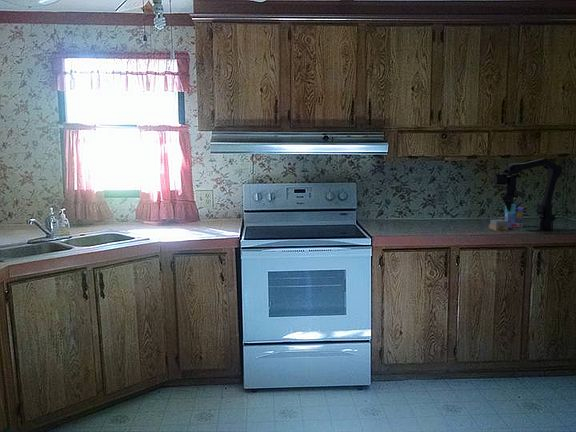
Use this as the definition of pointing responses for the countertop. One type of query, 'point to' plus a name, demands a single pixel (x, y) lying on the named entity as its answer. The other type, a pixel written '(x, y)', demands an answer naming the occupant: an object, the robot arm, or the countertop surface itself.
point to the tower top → (498, 222)
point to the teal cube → (511, 209)
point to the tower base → (498, 227)
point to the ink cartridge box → (515, 217)
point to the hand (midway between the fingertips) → (509, 211)
